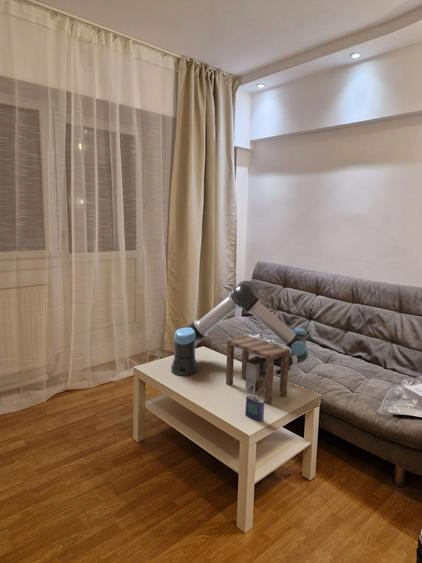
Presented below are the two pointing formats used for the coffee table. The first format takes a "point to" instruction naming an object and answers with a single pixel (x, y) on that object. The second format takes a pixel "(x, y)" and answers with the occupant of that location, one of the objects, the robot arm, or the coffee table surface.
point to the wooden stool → (264, 351)
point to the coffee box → (255, 375)
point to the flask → (254, 408)
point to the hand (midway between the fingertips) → (260, 369)
